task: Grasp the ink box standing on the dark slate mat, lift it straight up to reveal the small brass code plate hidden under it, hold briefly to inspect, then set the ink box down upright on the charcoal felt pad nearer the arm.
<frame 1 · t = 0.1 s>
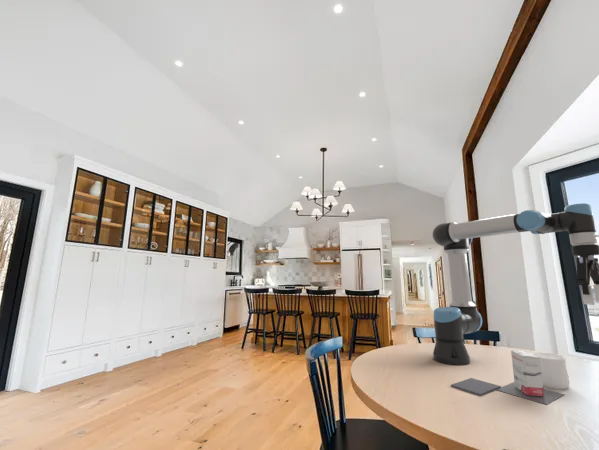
hand: (595, 303, 105), 28 cm above the table, fingers open, 13 cm apart
felt pad: (475, 387, 101), on the table
slate mat: (529, 392, 96), on the table
ink box: (529, 392, 96), resting on slate mat
cup: (551, 385, 103), on the table
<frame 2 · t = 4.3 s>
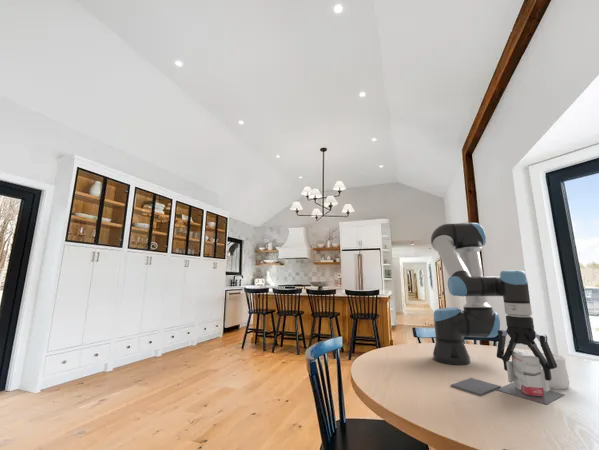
hand: (528, 385, 97), 2 cm above the table, fingers closed on ink box, 9 cm apart
ink box: (529, 392, 96), resting on slate mat, touching gripper
everything else where it was.
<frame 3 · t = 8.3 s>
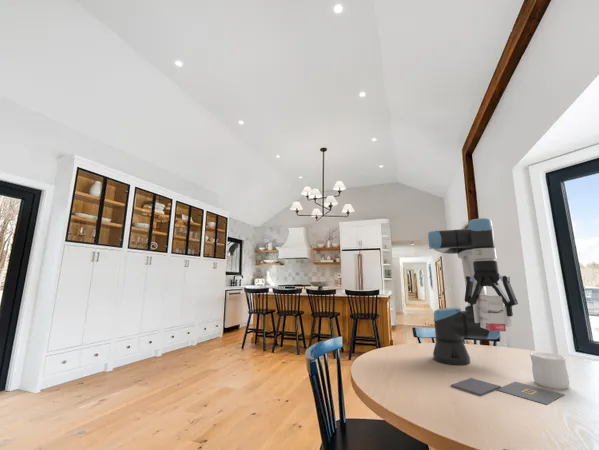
hand: (492, 324, 103), 21 cm above the table, fingers closed on ink box, 9 cm apart
ink box: (493, 330, 103), point 19 cm above the table, touching gripper
everything else where it was.
when the fingers open (4 cm above the table, at t = 12.4 s): ink box drops 2 cm, resting on felt pad.
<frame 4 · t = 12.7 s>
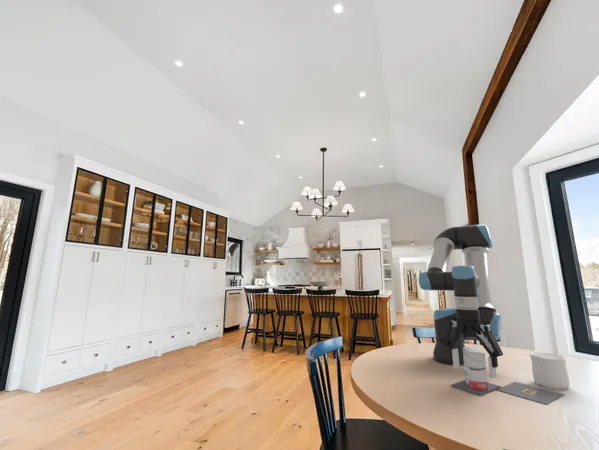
hand: (474, 372, 102), 5 cm above the table, fingers open, 12 cm apart
ink box: (476, 386, 101), resting on felt pad
everything else where it was.
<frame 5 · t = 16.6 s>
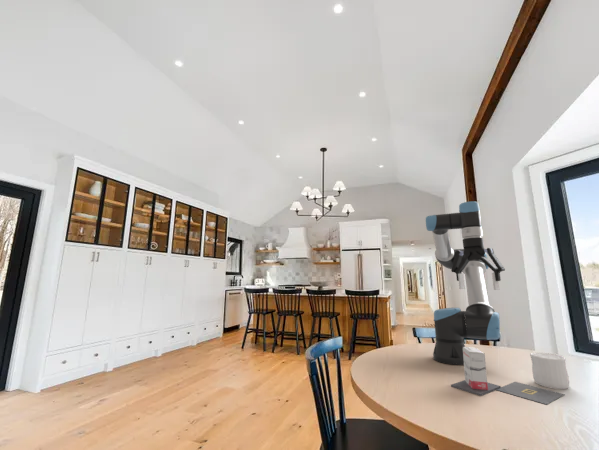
hand: (478, 289, 119), 33 cm above the table, fingers open, 13 cm apart
nothing on the table moved.
at the end: ink box 0.3 cm from the felt pad (horizontally); ink box tilted 0°; the gripper is holding nothing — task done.
